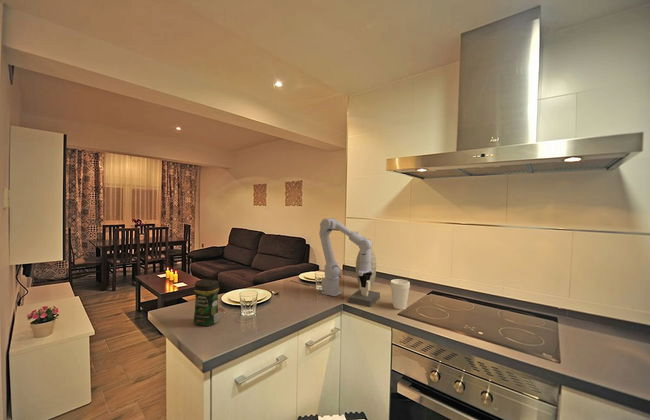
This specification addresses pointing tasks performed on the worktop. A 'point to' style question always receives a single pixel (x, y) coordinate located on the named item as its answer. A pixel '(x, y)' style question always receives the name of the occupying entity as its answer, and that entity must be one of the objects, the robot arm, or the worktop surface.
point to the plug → (365, 290)
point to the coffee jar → (206, 302)
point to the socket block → (364, 298)
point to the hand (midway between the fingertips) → (364, 286)
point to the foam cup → (400, 293)
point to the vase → (373, 267)
